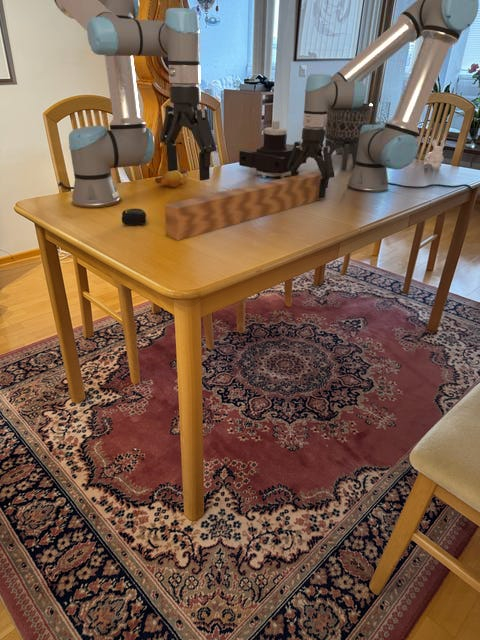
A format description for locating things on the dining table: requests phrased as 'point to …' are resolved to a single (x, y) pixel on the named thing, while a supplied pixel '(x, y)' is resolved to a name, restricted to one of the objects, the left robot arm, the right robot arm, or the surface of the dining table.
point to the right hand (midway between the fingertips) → (307, 194)
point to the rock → (341, 151)
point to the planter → (346, 130)
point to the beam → (239, 205)
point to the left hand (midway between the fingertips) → (188, 175)
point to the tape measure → (133, 216)
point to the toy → (173, 178)
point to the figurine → (434, 156)
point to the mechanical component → (270, 153)
